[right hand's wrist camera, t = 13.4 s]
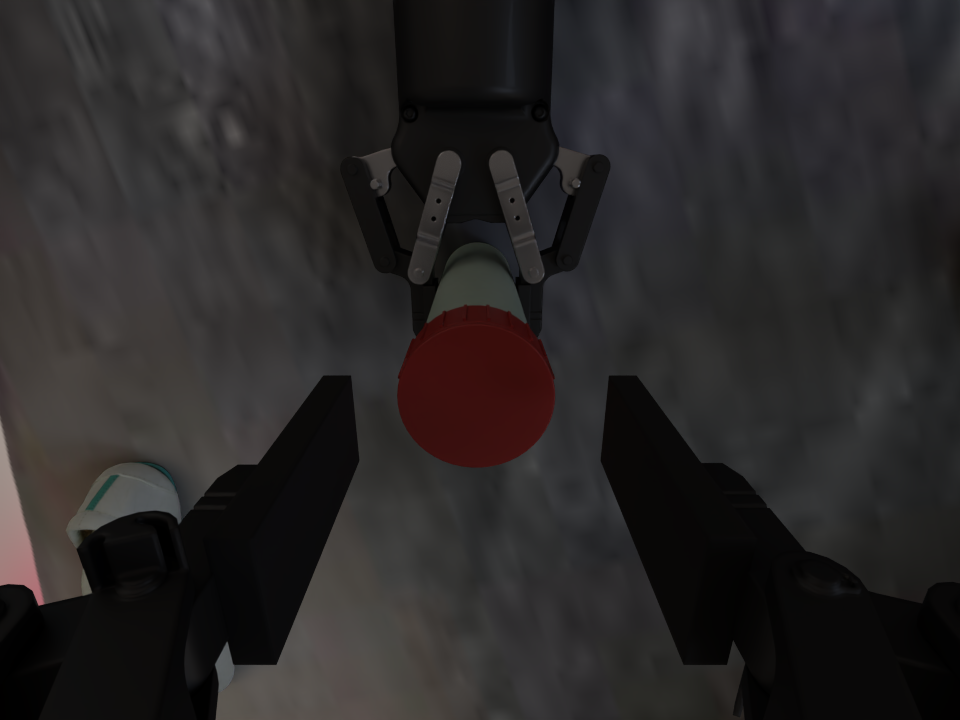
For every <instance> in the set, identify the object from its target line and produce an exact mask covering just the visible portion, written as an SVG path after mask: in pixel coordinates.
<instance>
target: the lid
mask: <svg viewBox="0 0 960 720" xmlns="http://www.w3.org/2000/svg"><path fill="white" fill-rule="evenodd" d="M398 378H399V384H398V392H397V399H398V407H399V412H400V416H401V418H402V421H403V423H404V425H405V427H406V429H407V431H408V432H409V434H410V435H411V436H412V438H413V439H414V440H415V441H416V442H417V443H418V445H419V446H421V447H422V448H423V449H424V450H425V451H427V452H428V453H430V454H431V455H433V456H434V457H436V458H438V459H440V460H442V461H445V462H448V463H450V464H454V465H458V466H463V467H489V466H494V465H499V464H502V463H505V462H508V461H510V460H512V459H514V458H516V457H518V456H520V455H521V454H523V453H524V452H526V451H527V450H528V449H530V448H531V447H532V446H533V445H534V444H535V443H536V442H537V441H538V440H539V439H540V437H541V436H542V434H543V433H544V431H545V430H546V428H547V426H548V424H549V422H550V420H551V417H552V414H553V409H554V404H555V388H554V382H553V379H555V378H554V374H553V372H552V369H551V366H550V363H549V361H548V358H547V355H546V352H545V349H544V347H543V344H542V341H541V339H539V340H538V339H537V337H536V335H535V334H534V333H533V332H532V330H531V329H530V327H529V324H528V323H526V324H525V323H524V322H523V321H521V320H520V319H519V318H517V317H516V316H514V315H512V314H511V312H510V311H508V312H506V311H504V310H501V309H498V308H494V307H490V305H488V304H487V305H486V306H483V305H470V306H467V304H465V305H464V306H462V307H458V308H455V309H451V310H449V311H447V312H446V311H445V310H444V311H442V314H441V315H439V316H437V317H435V318H434V319H433V320H431V321H430V322H429V323H427V322H426V323H425V324H424V327H423V329H422V330H421V331H420V333H419V334H418V335H417V337H416V338H415V339H412V341H411V343H410V346H409V349H408V351H407V354H406V356H405V360H404V362H403V365H402V367H401V370H400V373H399V375H398Z"/></svg>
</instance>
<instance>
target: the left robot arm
mask: <svg viewBox="0 0 960 720" xmlns="http://www.w3.org/2000/svg"><path fill="white" fill-rule="evenodd" d="M554 1H555V0H393V9H394V26H395V44H396V62H397V80H398V98H399V124H398V128H397V131H396V134H395V136H394V138H393V140H392V144H391V148H389V149H385V150H382V151H379V152H376V153H373V154H370V155H366V156H363V157H356V156H353V157H347V158H345V159H344V160H343V161H342V163H341V167H340V170H341V174H342V177H343V180H344V183H345V185H346V188H347V191H348V194H349V196H350V199H351V202H352V205H353V208H354V210H355V213H356V216H357V219H358V221H359V224H360V227H361V230H362V233H363V235H364V238H365V241H366V244H367V247H368V249H369V252H370V255H371V258H372V260H373V263H374V266H375V268H376V269H377V270H378V271H380V272H382V273H389V272H390V273H393V274H396V275H399V276H401V277H403V278H405V279H406V280H407V281H408V282H409V284H410V287H411V300H412V318H413V331H414V333H415V335H416V337H417V335H418V334H419V333H420V331H421V330H422V329H423V327H424V324H425V323H426V322H427V319H428V316H429V313H430V310H431V307H432V304H433V301H434V298H435V295H436V292H437V289H438V286H439V284H438V278H435V276H434V265H435V261H436V258H437V255H438V251H439V248H440V244H441V241H442V238H443V235H444V231H445V228H446V224H447V223H462V222H466V221H469V220H473V219H479V220H483V221H486V222H490V223H505V224H506V227H507V230H508V233H509V237H510V240H511V243H512V246H513V249H514V252H515V256H516V259H517V262H518V265H519V277H516V282H515V286H516V290H517V293H518V296H519V299H520V302H521V305H522V308H523V312H524V315H525V318H526V321H527V323H528V324H529V327H530V329H531V330H532V332H533V333H534V334H535V335H536V337H538V335H539V333H540V331H541V326H542V299H543V285H544V282H545V281H546V279H547V278H548V277H550V276H551V275H554V274H556V273H559V272H562V271H571V270H573V269H574V268H575V267H576V266H577V265H578V262H579V259H580V256H581V253H582V251H583V248H584V245H585V242H586V239H587V236H588V233H589V230H590V227H591V224H592V221H593V218H594V215H595V212H596V209H597V206H598V203H599V200H600V198H601V195H602V192H603V189H604V186H605V183H606V180H607V177H608V174H609V171H610V162H609V160H608V158H607V157H606V156H604V155H601V154H598V155H585V154H582V153H579V152H575V151H572V150H569V149H565V148H562V147H559V142H558V139H557V137H556V135H555V133H554V130H553V127H552V124H551V117H550V107H551V81H552V55H553V28H554ZM553 166H555V167H556V168H557V169H558V170H559V173H560V188H561V190H562V191H563V192H564V193H566V194H568V197H567V200H566V204H565V207H564V210H563V213H562V216H561V219H560V222H559V226H558V229H557V232H556V235H555V238H554V241H553V244H552V247H550V248H547V249H544V250H542V251H539V249H538V246H537V242H536V239H535V233H534V230H533V226H532V223H531V219H530V216H529V213H528V209H527V206H526V204H527V202H528V201H529V199H530V198H531V197H532V195H533V194H534V192H535V191H536V190H537V188H538V187H539V185H540V184H541V183H542V181H543V180H544V178H545V177H546V176H547V174H548V173H549V171H550V170H551V169H552V167H553ZM396 167H398V169H399V170H400V171H401V173H402V174H403V176H404V177H405V178H406V180H407V181H408V182H409V184H410V185H411V186H412V188H413V189H414V190H415V192H416V193H417V194H418V196H419V197H420V198H421V200H422V201H423V203H424V204H425V207H424V210H423V214H422V218H421V221H420V225H419V229H418V233H417V238H416V243H415V246H414V250H413V252H411V251H408V250H405V249H402V248H400V245H399V242H398V239H397V236H396V233H395V230H394V227H393V224H392V221H391V218H390V215H389V212H388V209H387V206H386V203H385V200H384V197H383V195H386V194H387V193H388V192H389V191H390V189H391V173H392V171H393V170H394V169H395V168H396Z"/></svg>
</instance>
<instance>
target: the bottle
mask: <svg viewBox="0 0 960 720" xmlns="http://www.w3.org/2000/svg"><path fill="white" fill-rule="evenodd" d="M465 304H467V306H470V305H483V306H486V305H487V304H488V305H490V307H494V308H498V309H501V310H504V311H506V312H508V311H510V312H511V314H512V315H514V316H516V317H517V318H519V319H520V320H521V321H523V322H524V323H525V324H526V323H527V321H526V318H525V315H524V312H523V308H522V305H521V302H520V299H519V296H518V293H517V290H516V286H515V283H514V280H513V277H512V274H511V271H510V267H509V264H508V262H507V260H506V258H505V257H504V255H503V254H502V253H501V252H500V251H499V250H498V249H496V248H495V247H493V246H491V245H489V244H485V243H480V242H475V243H469V244H466V245H463V246H461V247H460V248H458V249H457V250H455V251H454V252H453V253H452V254H451V256H450V257H449V259H448V261H447V263H446V265H445V268H444V271H443V274H442V277H441V280H440V283H439V286H438V289H437V292H436V295H435V298H434V301H433V304H432V307H431V310H430V313H429V316H428V319H427V323H429V322H430V321H431V320H433V319H434V318H435V317H437V316H439V315H441V314H442V311H444V310H445V311H446V312H447V311H449V310H451V309H455V308H458V307H462V306H464V305H465Z"/></svg>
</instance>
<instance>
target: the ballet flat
mask: <svg viewBox="0 0 960 720" xmlns="http://www.w3.org/2000/svg"><path fill="white" fill-rule="evenodd" d="M91 487H92V488H91V489H90V491H89V492H88V494H87V496H86V498H85V500H84V502H83V504H82V505H81V506H80V508H79V510H78V511H77V514H76V515H75V516H74V517H73V518H72V519H71V520H70V521H69V523H68V526H67V528H66V532H67V535H68V536H69V538H70V540H71V541H72V544H73V545H74V546H75V547H76V548H78V546H79V545H80V544H81V543H82V542H83V540H84V539H85V538H86V537H87V536H88V535H90V534H91V533H92V532H94V531H95V530H97V529H98V528H99V527H101V526H103V525H105V524H107V523H109V522H111V521H113V520H115V519H117V518H120V517H123V516H127V515H130V514H133V513H137V512H144V511H154V510H157V511H163V512H169V513H170V514H172V515H173V516H174V517H176V518H177V520H178V524H180V522H181V521H182V519H181V512H180V502H179V498H178V494H177V491H176V487H175V484H174V481H173V479H172V477H171V475H170V474H169V473H168V472H167V471H166V470H165V469H164V468H162V467H161V466H158V465H156V464H152V463H146V462H136V463H132V462H130V463H121V464H117V465H115V466H112V467H110V468H108V469H107V470H105V471H104V472H103V473H102V474H101V475H100V476H99V477H98V478H97V480H96V481H95V482H94V483H93V484H92V486H91ZM81 589H82V596H84V595H87V594H91V593H92V591H91V588H90V585H89V583H88V580H87V577H86V574H85V571H84V569H83V572H82V579H81ZM215 666H216V670H217V674H218V681H219V690H218V692H220V691H222V690H224V689H225V688H226V687H227V686H228V685H229V684H230V682H231V680H232V678H233V676H234V671H235V665H233V662H232V658H231V654H230V650H229V646H228V642H227V643H226V645H225V647H224V649H223V650H222V652H221V654H220V656H219V658H218V660H217V662H216V664H215Z"/></svg>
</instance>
